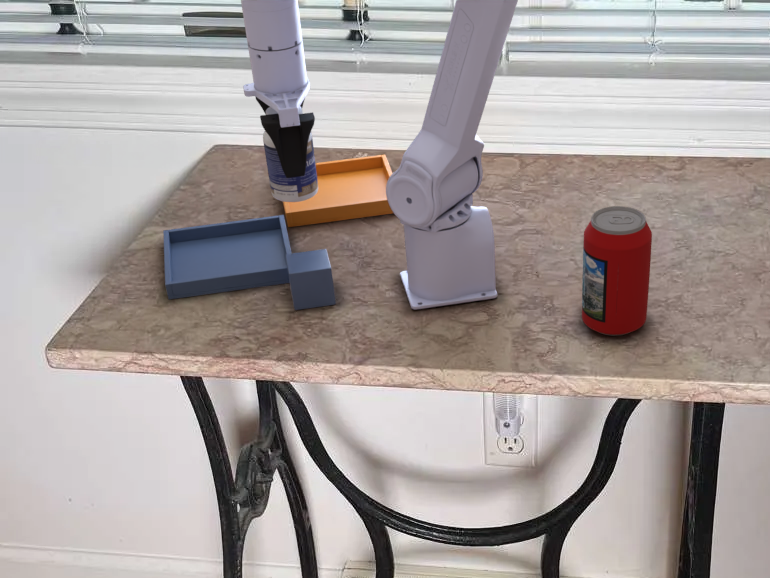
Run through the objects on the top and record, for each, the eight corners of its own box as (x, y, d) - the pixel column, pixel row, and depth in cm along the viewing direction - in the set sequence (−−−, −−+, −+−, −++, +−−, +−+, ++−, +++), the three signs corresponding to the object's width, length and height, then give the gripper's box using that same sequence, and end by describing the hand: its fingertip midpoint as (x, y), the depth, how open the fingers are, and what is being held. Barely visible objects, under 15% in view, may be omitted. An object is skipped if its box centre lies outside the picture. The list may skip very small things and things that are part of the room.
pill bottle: (311, 205, 132) (300, 120, 126) (265, 202, 133) (252, 118, 127) (324, 184, 136) (314, 101, 130) (280, 181, 137) (268, 99, 131)
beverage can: (580, 306, 127) (583, 203, 119) (644, 306, 126) (651, 202, 118) (581, 340, 121) (584, 234, 114) (648, 340, 121) (655, 234, 113)
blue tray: (285, 228, 143) (283, 214, 142) (296, 281, 133) (294, 266, 132) (166, 244, 141) (163, 230, 140) (168, 299, 131) (165, 284, 130)
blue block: (330, 284, 132) (326, 248, 129) (335, 304, 129) (331, 268, 126) (290, 290, 131) (285, 253, 129) (294, 310, 128) (289, 273, 125)
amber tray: (386, 167, 155) (385, 154, 154) (403, 212, 145) (402, 197, 144) (278, 181, 153) (276, 167, 152) (287, 227, 143) (285, 213, 142)
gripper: (231, 23, 129) (251, 143, 137) (241, 70, 118) (262, 197, 126) (296, 16, 130) (311, 135, 138) (312, 62, 119) (327, 188, 127)
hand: (292, 164), depth 132 cm, fingers closed on pill bottle, 5 cm apart
